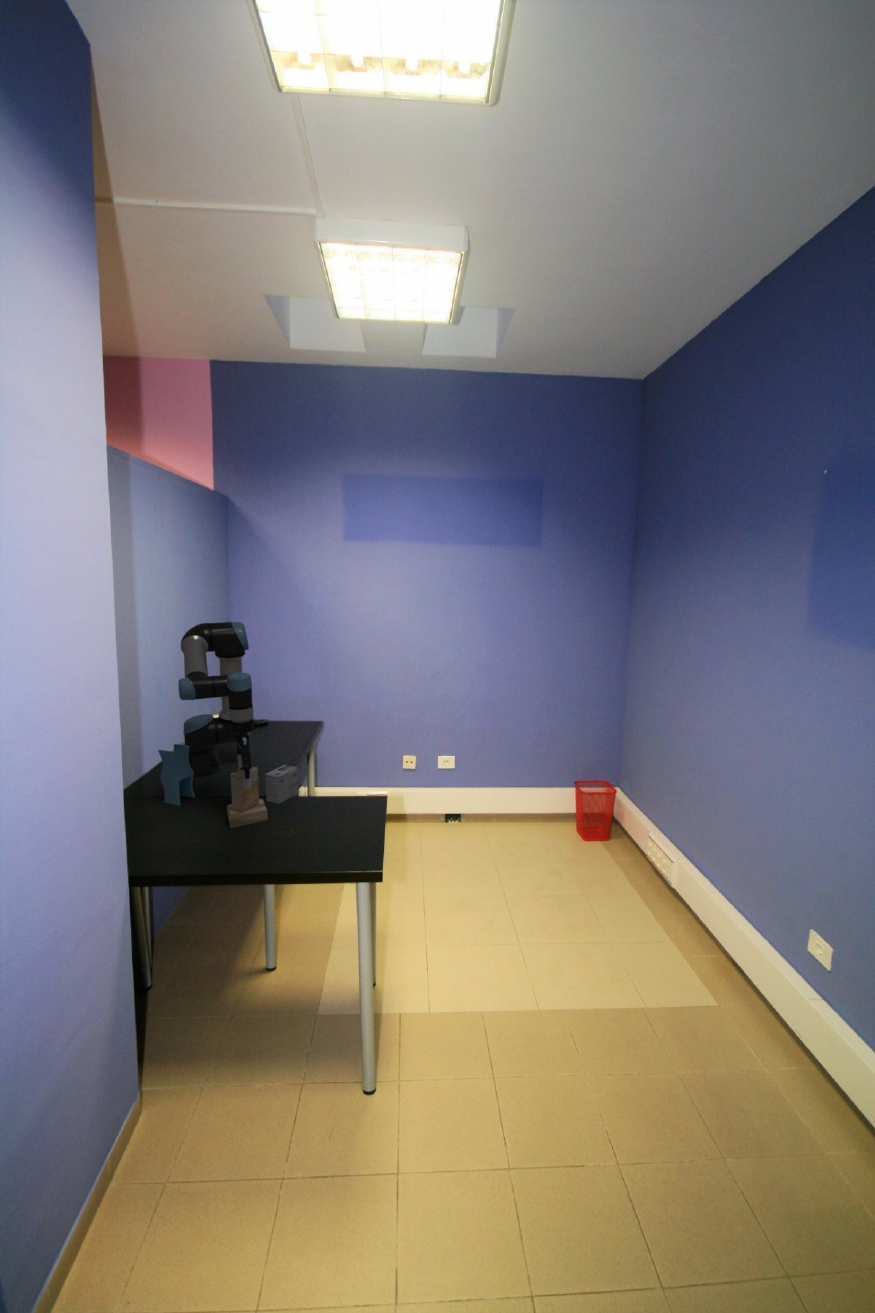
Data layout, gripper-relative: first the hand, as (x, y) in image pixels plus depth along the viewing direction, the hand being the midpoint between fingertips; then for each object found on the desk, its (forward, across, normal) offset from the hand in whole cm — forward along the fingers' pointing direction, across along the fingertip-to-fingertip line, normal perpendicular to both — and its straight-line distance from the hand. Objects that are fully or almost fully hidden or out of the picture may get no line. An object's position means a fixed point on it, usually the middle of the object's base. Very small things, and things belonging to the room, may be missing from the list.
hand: (245, 779), depth 178 cm
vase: (+15, -26, -21) cm, 37 cm away
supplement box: (+10, 0, 0) cm, 10 cm away
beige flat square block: (+14, +1, 0) cm, 14 cm away
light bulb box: (+14, -11, +14) cm, 23 cm away
